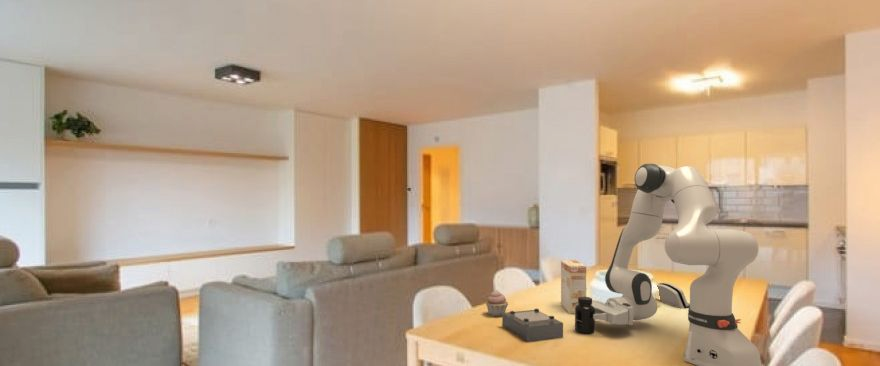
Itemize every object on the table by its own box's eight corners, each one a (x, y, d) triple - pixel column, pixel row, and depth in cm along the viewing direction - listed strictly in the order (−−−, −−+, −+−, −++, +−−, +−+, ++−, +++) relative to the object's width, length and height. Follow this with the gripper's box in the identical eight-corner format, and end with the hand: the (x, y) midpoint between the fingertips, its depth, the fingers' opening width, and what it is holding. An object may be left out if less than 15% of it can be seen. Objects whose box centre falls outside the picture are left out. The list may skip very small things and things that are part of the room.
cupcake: (509, 312, 193) (509, 288, 193) (506, 318, 184) (506, 293, 184) (487, 310, 196) (487, 286, 196) (483, 317, 187) (483, 291, 187)
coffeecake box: (586, 314, 191) (586, 265, 191) (569, 314, 191) (569, 265, 191) (576, 304, 206) (576, 259, 206) (560, 304, 206) (560, 259, 206)
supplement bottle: (572, 333, 167) (572, 298, 167) (577, 327, 173) (577, 294, 173) (593, 335, 163) (593, 301, 163) (596, 330, 169) (596, 297, 169)
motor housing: (563, 337, 162) (563, 318, 162) (526, 342, 157) (526, 322, 157) (531, 320, 181) (531, 304, 181) (498, 324, 177) (498, 307, 177)
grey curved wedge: (692, 308, 200) (685, 286, 199) (682, 312, 199) (675, 290, 198) (666, 298, 216) (659, 278, 216) (657, 302, 216) (650, 282, 215)
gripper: (598, 294, 182) (567, 297, 178) (636, 308, 163) (602, 311, 159) (598, 311, 182) (567, 314, 178) (636, 326, 163) (602, 330, 159)
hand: (584, 313), depth 168 cm, fingers open, 8 cm apart
